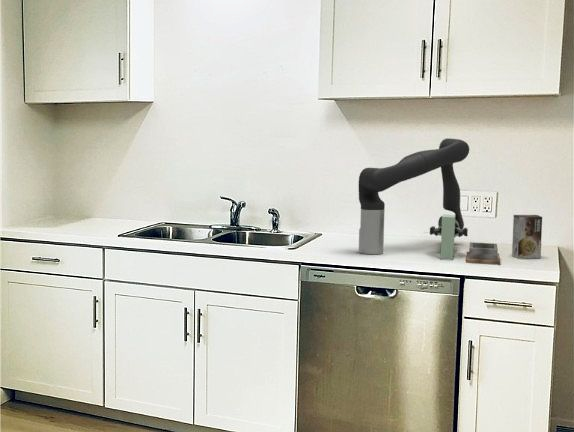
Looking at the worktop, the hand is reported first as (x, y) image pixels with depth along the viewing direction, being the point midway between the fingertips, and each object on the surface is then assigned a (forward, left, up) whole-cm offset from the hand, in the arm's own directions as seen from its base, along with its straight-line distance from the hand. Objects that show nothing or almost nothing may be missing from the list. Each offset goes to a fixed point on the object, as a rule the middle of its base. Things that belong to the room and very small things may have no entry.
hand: (448, 233), depth 257 cm
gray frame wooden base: (+13, -1, -9) cm, 16 cm away
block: (0, -1, -9) cm, 9 cm away
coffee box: (+29, +10, -9) cm, 32 cm away
